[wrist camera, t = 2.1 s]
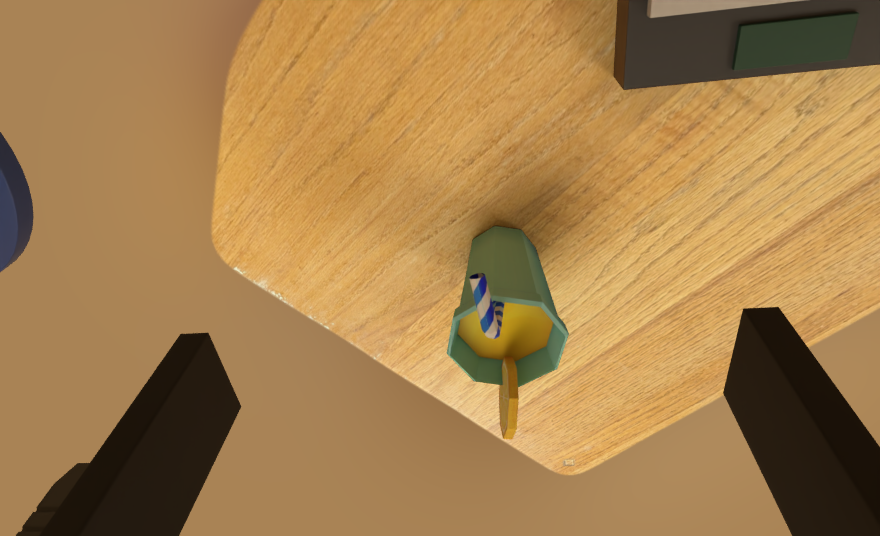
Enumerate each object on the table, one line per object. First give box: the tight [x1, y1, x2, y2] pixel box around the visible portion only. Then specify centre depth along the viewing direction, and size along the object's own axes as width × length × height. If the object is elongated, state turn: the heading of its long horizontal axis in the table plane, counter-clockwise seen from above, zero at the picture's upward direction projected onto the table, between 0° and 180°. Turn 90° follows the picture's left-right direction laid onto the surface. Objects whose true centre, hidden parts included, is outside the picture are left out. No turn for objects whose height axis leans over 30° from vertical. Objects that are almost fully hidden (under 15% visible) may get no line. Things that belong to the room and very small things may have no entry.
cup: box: [447, 226, 569, 439], centre depth 37 cm, size 14×8×15 cm, turn 16°
